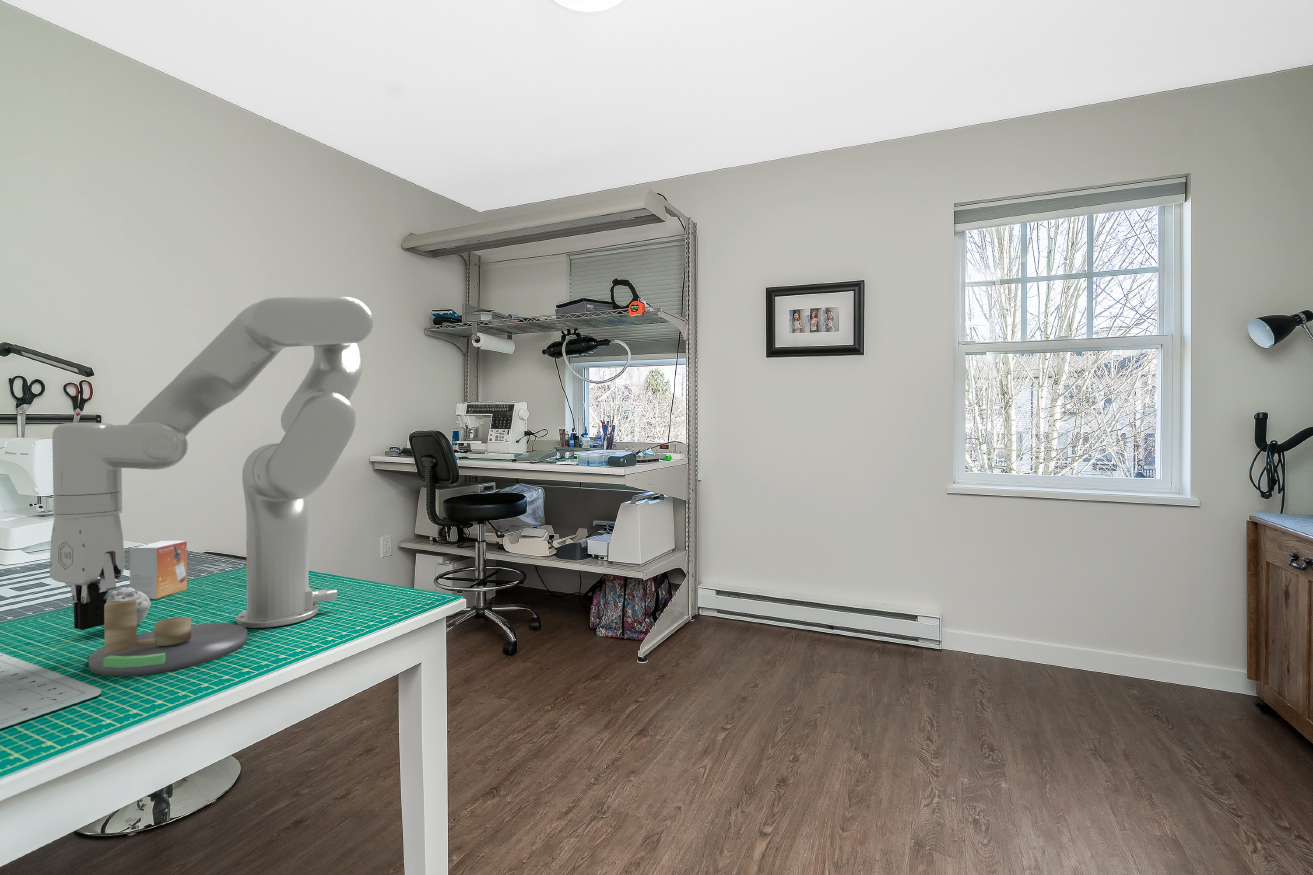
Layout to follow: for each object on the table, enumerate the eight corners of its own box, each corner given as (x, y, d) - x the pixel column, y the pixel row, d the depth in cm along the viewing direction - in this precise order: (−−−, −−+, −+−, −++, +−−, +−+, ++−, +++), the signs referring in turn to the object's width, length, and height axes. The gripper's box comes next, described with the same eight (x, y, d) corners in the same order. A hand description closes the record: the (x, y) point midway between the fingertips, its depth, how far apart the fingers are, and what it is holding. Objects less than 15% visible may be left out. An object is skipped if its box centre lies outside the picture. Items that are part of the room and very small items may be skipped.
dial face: (241, 622, 107) (241, 609, 107) (253, 654, 92) (253, 638, 92) (95, 647, 95) (94, 632, 95) (81, 688, 80) (81, 670, 80)
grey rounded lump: (93, 635, 100) (93, 593, 100) (118, 622, 107) (118, 583, 107) (137, 632, 102) (137, 591, 102) (159, 619, 108) (159, 580, 108)
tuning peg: (190, 633, 96) (190, 590, 96) (191, 641, 93) (190, 596, 93) (106, 647, 90) (105, 601, 90) (103, 656, 87) (103, 608, 87)
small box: (156, 600, 121) (156, 547, 120) (128, 599, 121) (128, 547, 120) (188, 589, 129) (187, 540, 128) (162, 589, 129) (161, 540, 128)
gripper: (27, 505, 90) (29, 628, 90) (86, 510, 84) (88, 641, 85) (90, 500, 97) (92, 613, 97) (148, 504, 91) (150, 625, 92)
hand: (90, 626), depth 91 cm, fingers closed
